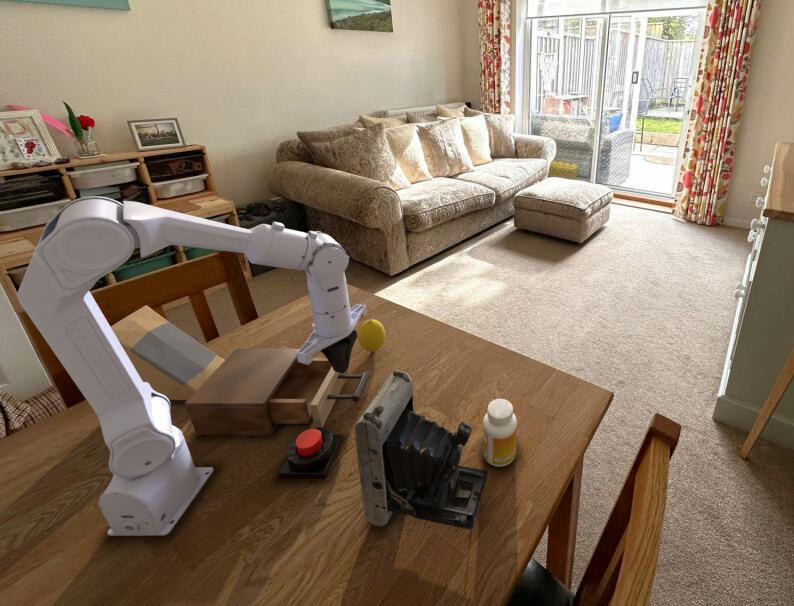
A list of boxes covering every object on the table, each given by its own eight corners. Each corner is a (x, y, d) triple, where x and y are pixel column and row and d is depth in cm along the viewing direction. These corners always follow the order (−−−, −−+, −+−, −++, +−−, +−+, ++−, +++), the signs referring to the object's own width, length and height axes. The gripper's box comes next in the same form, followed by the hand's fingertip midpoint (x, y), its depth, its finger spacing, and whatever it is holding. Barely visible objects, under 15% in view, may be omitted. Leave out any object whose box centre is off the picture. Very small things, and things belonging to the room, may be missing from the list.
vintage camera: (469, 555, 53) (475, 444, 46) (362, 525, 55) (350, 415, 48) (488, 486, 62) (495, 384, 55) (394, 463, 64) (389, 362, 57)
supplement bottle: (522, 448, 67) (524, 404, 63) (503, 474, 63) (505, 428, 59) (495, 433, 70) (496, 389, 66) (476, 456, 66) (476, 411, 62)
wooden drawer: (376, 376, 80) (374, 355, 78) (355, 428, 69) (351, 405, 67) (289, 375, 80) (284, 354, 78) (253, 428, 68) (246, 404, 66)
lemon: (355, 356, 87) (350, 325, 84) (370, 340, 92) (366, 310, 89) (377, 361, 86) (373, 330, 83) (391, 345, 91) (388, 315, 88)
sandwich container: (210, 402, 74) (188, 335, 69) (129, 398, 75) (101, 331, 69) (241, 369, 82) (223, 307, 77) (168, 366, 83) (145, 303, 77)
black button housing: (325, 478, 61) (322, 465, 60) (279, 479, 61) (275, 465, 60) (342, 439, 68) (340, 426, 67) (300, 439, 68) (297, 425, 67)
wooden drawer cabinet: (308, 377, 81) (302, 348, 78) (271, 435, 68) (263, 403, 66) (244, 376, 81) (236, 348, 78) (196, 435, 68) (184, 403, 65)
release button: (316, 456, 62) (315, 448, 61) (293, 456, 62) (291, 448, 61) (326, 436, 65) (324, 428, 65) (303, 436, 65) (302, 428, 65)
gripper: (340, 279, 74) (349, 340, 79) (275, 324, 61) (290, 393, 66) (373, 286, 72) (380, 348, 77) (312, 334, 59) (325, 404, 64)
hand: (341, 369), depth 72 cm, fingers closed
